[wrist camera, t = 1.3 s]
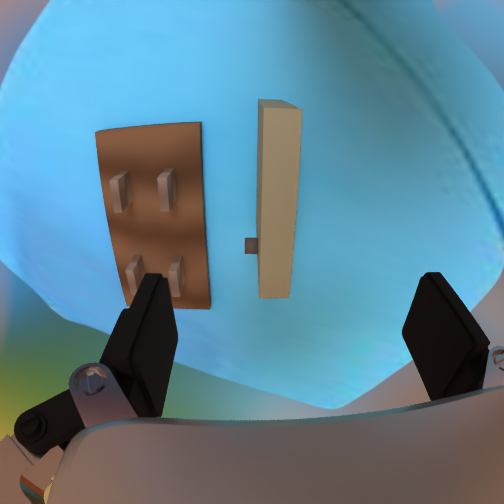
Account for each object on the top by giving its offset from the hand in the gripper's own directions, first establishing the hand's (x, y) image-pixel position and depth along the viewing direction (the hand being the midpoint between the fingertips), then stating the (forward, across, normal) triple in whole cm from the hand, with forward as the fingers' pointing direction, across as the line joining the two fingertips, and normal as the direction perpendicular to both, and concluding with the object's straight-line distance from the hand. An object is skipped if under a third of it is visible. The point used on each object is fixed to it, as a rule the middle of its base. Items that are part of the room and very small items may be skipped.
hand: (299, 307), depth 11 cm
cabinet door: (+20, 0, 0) cm, 20 cm away
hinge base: (+20, +11, +6) cm, 24 cm away
